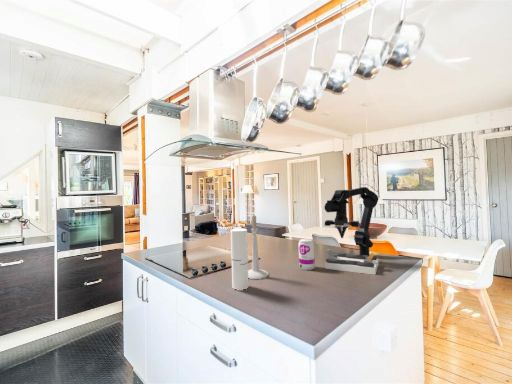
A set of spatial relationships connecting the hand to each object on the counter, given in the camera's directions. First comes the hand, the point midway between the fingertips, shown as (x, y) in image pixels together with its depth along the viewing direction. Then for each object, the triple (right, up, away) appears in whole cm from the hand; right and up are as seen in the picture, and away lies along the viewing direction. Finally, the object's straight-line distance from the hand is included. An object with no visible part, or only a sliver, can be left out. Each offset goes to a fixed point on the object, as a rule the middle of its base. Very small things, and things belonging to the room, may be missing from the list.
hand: (342, 238), depth 151 cm
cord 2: (+4, -10, -7) cm, 13 cm away
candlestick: (-50, -15, -23) cm, 57 cm away
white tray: (+1, -13, -13) cm, 18 cm away
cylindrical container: (-57, -15, -39) cm, 71 cm away
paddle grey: (-8, -9, -8) cm, 15 cm away
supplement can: (-23, -14, -13) cm, 30 cm away
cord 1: (-2, -10, -19) cm, 22 cm away
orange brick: (+8, -9, -17) cm, 21 cm away
